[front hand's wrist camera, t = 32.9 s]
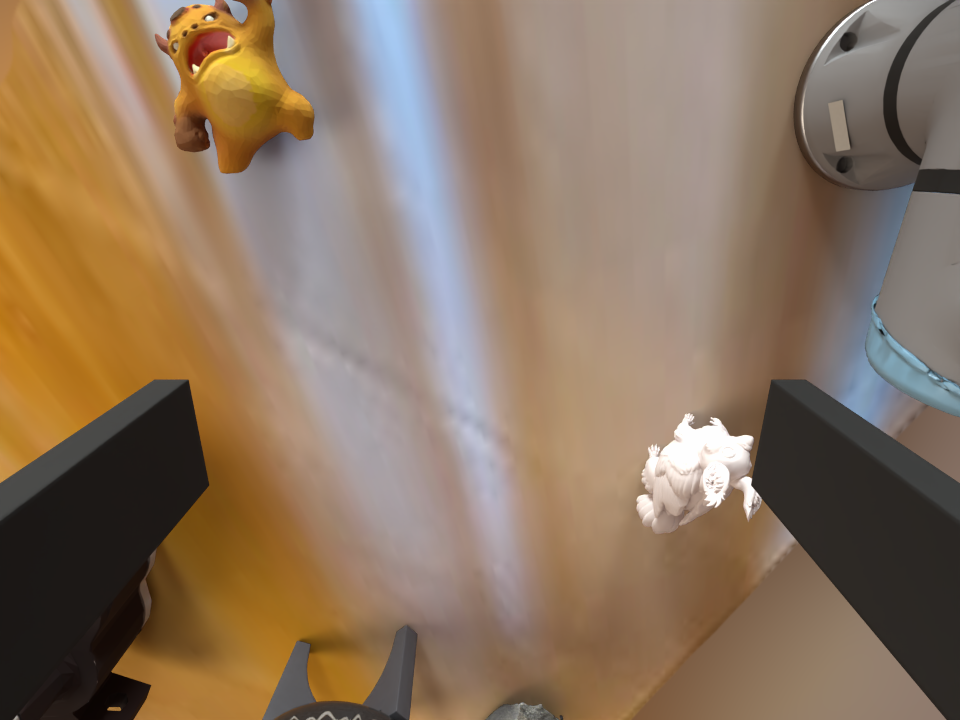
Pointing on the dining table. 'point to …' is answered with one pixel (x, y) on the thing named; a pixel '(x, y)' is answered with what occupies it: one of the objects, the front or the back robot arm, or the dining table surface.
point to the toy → (231, 83)
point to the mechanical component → (99, 664)
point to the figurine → (695, 476)
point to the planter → (380, 716)
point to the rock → (522, 713)
